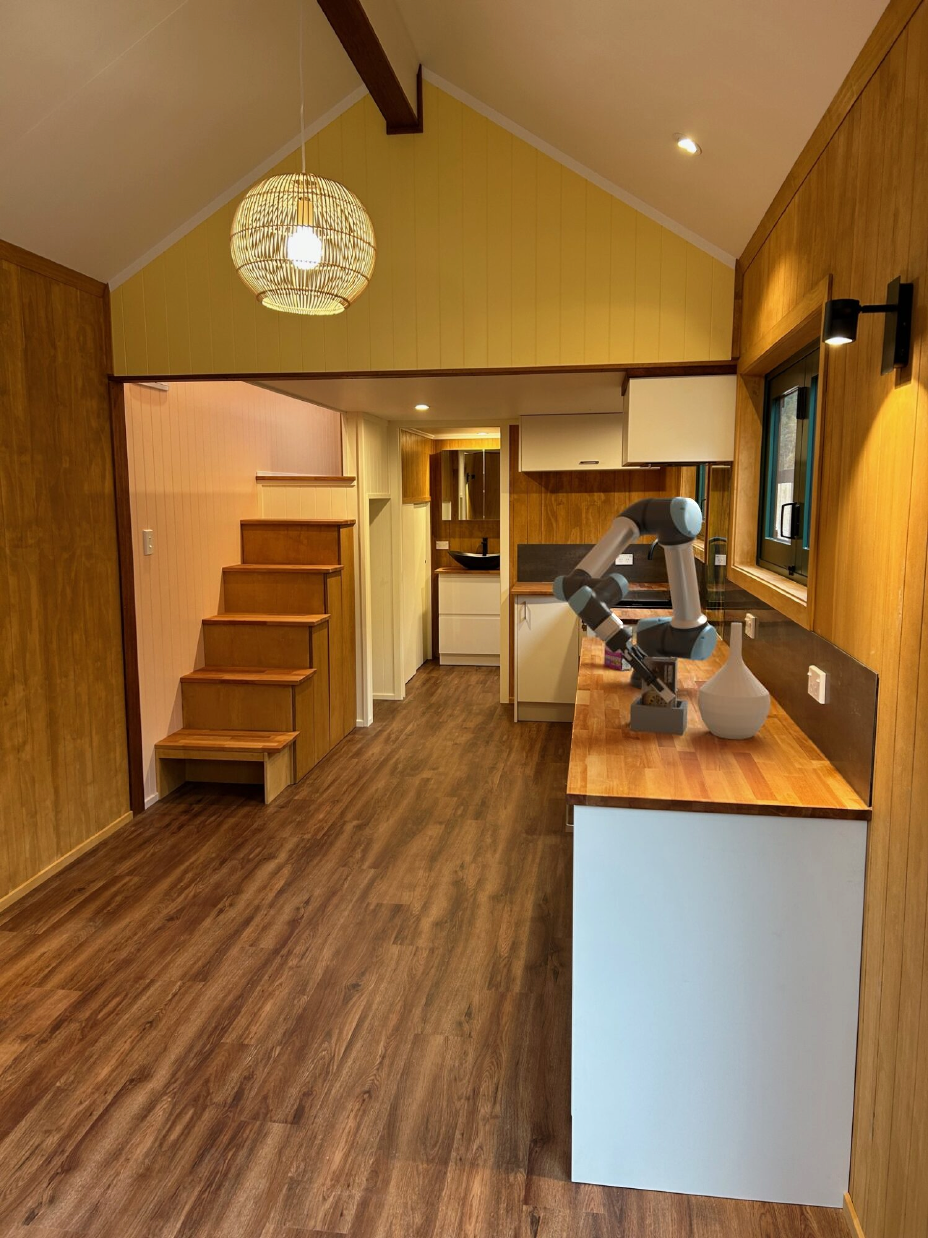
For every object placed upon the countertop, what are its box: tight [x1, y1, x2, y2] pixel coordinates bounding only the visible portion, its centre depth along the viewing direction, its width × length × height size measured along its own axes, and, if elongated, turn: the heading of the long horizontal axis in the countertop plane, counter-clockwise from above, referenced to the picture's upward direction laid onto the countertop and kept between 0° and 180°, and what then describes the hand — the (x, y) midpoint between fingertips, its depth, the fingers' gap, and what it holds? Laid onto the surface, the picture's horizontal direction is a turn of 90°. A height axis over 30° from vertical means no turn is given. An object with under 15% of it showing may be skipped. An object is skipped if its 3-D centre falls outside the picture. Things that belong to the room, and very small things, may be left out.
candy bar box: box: [603, 624, 634, 672], centre depth 319 cm, size 11×5×16 cm, turn 27°
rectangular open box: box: [629, 696, 688, 736], centre depth 233 cm, size 11×14×7 cm
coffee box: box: [641, 657, 679, 708], centre depth 232 cm, size 9×6×16 cm
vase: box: [697, 622, 771, 740], centre depth 225 cm, size 18×18×30 cm
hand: (672, 696), depth 232 cm, fingers closed on coffee box, 6 cm apart
